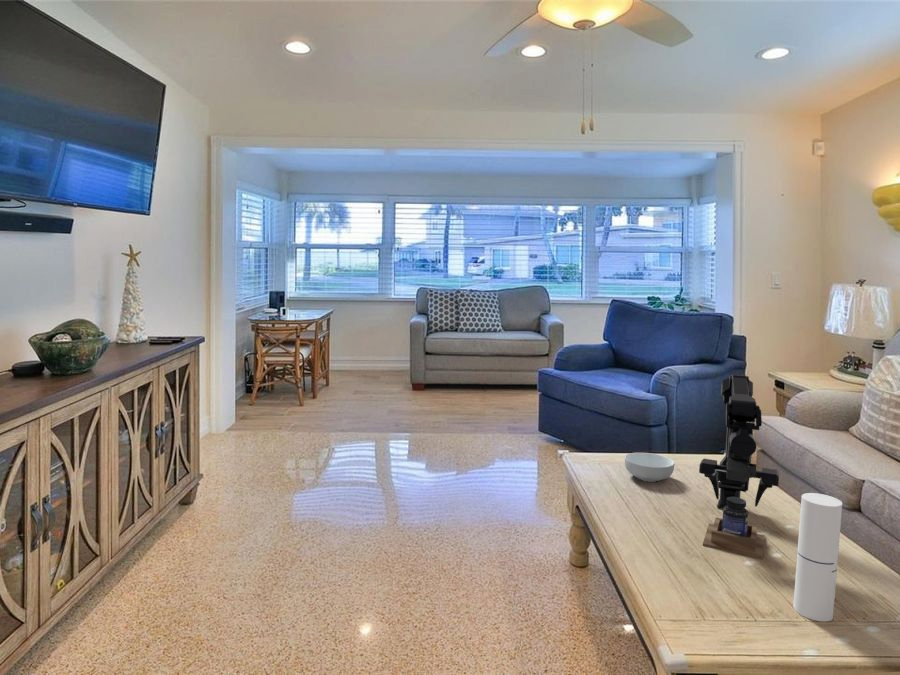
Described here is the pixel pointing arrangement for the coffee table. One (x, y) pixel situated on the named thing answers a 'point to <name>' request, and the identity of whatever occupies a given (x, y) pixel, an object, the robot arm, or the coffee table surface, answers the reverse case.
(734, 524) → the pill bottle
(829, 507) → the cylindrical container
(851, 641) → the coffee table surface
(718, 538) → the walnut holder
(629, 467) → the cereal bowl
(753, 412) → the robot arm
